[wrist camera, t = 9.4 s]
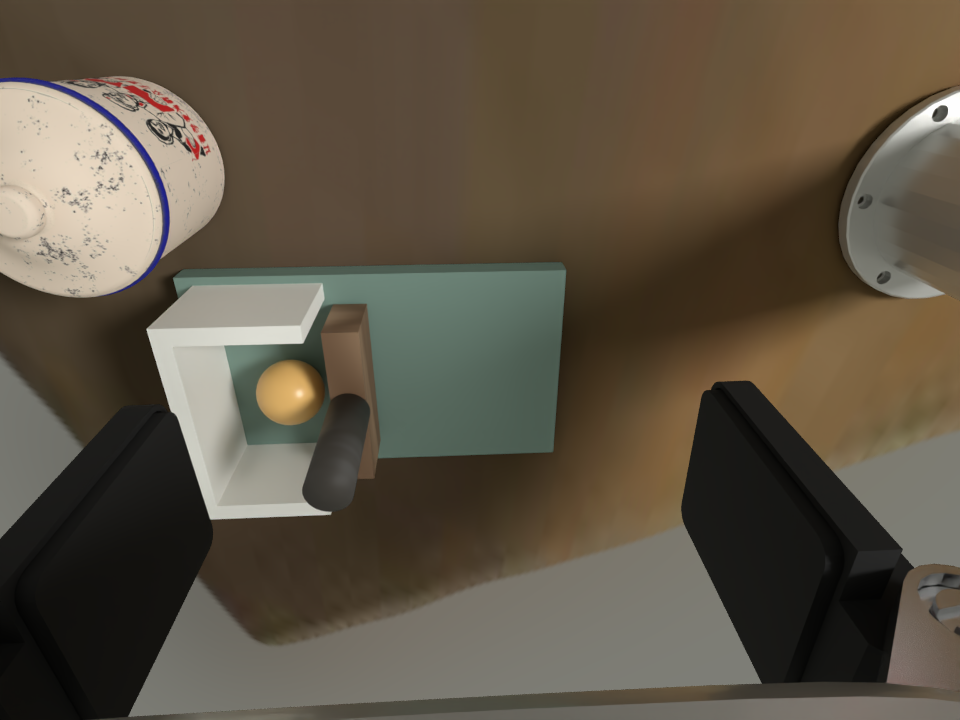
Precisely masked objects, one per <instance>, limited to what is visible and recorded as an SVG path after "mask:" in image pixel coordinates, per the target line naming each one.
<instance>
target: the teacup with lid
mask: <svg viewBox="0 0 960 720" xmlns="http://www.w3.org/2000/svg"><path fill="white" fill-rule="evenodd" d="M224 178H225V176H224V167H223V161H222V157H221V154H220V151H219V148H218V145H217V143H216V141H215V139H214V137H213V135H212V133H211V132H210V130H209V128H208V127H207V125H206V124H205V123H204V121H203V120H202V119H201V118H200V116H199V115H198V114H197V113H196V112H195V111H194V110H193V109H192V108H191V107H190V106H189V105H188V104H187V103H186V102H185V101H183V100H182V99H181V98H179V97H178V96H177V95H175V94H174V93H172V92H170V91H169V90H167V89H165V88H163V87H161V86H159V85H157V84H154V83H152V82H149V81H146V80H142V79H138V78H133V77H124V76H114V77H102V78H89V79H77V80H65V81H52V82H48V81H43V80H38V79H31V78H3V79H0V272H1V273H3V274H4V275H6V276H8V277H10V278H11V279H13V280H15V281H17V282H19V283H21V284H24V285H26V286H28V287H31V288H34V289H37V290H40V291H43V292H46V293H50V294H55V295H60V296H66V297H97V296H105V295H110V294H114V293H117V292H120V291H123V290H125V289H128V288H130V287H131V286H133V285H135V284H137V283H138V282H139V281H141V280H142V279H144V278H145V277H146V276H147V275H148V274H149V273H150V272H151V271H152V270H153V268H154V267H155V266H156V265H157V263H158V261H159V260H160V259H161V258H162V257H164V256H165V255H166V254H168V253H169V252H170V251H172V250H173V249H174V248H176V247H177V246H178V245H180V244H181V243H183V242H184V241H185V240H187V239H188V238H189V237H191V236H192V235H193V234H195V233H196V232H197V231H199V230H200V229H202V228H203V227H204V226H205V225H206V224H207V223H208V222H209V221H210V220H211V219H212V217H213V216H214V214H215V213H216V211H217V209H218V207H219V205H220V202H221V199H222V196H223V191H224Z"/></svg>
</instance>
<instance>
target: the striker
mask: <svg viewBox="0 0 960 720" xmlns="http://www.w3.org/2000/svg"><path fill="white" fill-rule="evenodd" d="M321 339H322V346H323V353H324V360H325V367H326V374H327V381H328V388H329V395H330V404H329V407H328V410H327V413H326V416H325V419H324V422H323V425H322V428H321V431H320V434H319V438H318V441H317V444H316V447H315V450H314V453H313V456H312V459H311V462H310V465H309V468H308V472H307V475H306V478H305V481H304V484H303V487H302V494H303V497H304V499H305V500H306V502H307V503H308V504H309V505H310V506H312V507H314V508H315V509H318V510H321V511H326V512H334V511H339V510H342V509H344V508H346V507H347V506H348V505H349V504H350V503H351V502H352V500H353V497H354V492H355V487H356V483H357V479H373V478H375V472H376V465H377V459H378V453H379V447H380V441H381V439H380V429H379V419H378V409H377V399H376V389H375V380H374V370H373V360H372V350H371V340H370V330H369V320H368V310H367V304H333V306H332V308H331V310H330V313H329V315H328V317H327V320H326V322H325V324H324V327H323V329H322V331H321Z"/></svg>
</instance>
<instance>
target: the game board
mask: <svg viewBox="0 0 960 720" xmlns="http://www.w3.org/2000/svg"><path fill="white" fill-rule="evenodd" d="M173 280H174V284H175V288H176V291H177V295H178V300H177V301H176V302H175V303H174V304H173V305H172V306H170V307H169V308H168V309H167V310H166V311H165V312H164V313H163V314H162V315H161V316H160V317H159V318H158V319H157V320H156V321H154V322H153V323H152V324H151V325H150V326H149V327H148V328H147V329H146V330H147V333H148V337H149V340H150V343H151V347H152V350H153V353H154V357H155V360H156V363H157V367H158V370H159V373H160V377H161V380H162V383H163V387H164V390H165V393H166V397H167V400H168V403H169V407H170V410H171V412H172V413H174V414H175V415H176V416H177V418H178V421H179V424H180V427H181V430H182V433H183V436H184V439H185V442H186V445H187V449H188V452H189V455H190V458H191V461H192V464H193V467H194V470H195V474H196V477H197V480H198V483H199V486H200V489H201V492H202V495H203V499H204V502H205V505H206V508H207V511H208V514H209V517H210V519H234V518H260V517H285V516H311V515H331V512H326V511H321V510H318V509H315V508H314V507H312V506H310V505H309V504H308V503H307V502H306V500H305V499H304V497H303V494H302V487H303V484H304V481H305V478H306V475H307V472H308V468H309V465H310V462H311V459H312V456H313V453H314V450H315V447H316V444H317V441H318V438H319V434H320V431H321V428H322V425H323V422H324V419H325V416H326V413H327V410H328V407H329V404H330V395H329V388H328V381H327V374H326V367H325V360H324V353H323V346H322V339H321V331H322V329H323V327H324V324H325V322H326V320H327V317H328V315H329V313H330V310H331V308H332V306H333V304H367V310H368V320H369V330H370V340H371V350H372V360H373V370H374V380H375V389H376V399H377V409H378V419H379V429H380V439H381V441H380V447H379V453H378V458H400V457H429V456H457V455H486V454H515V453H544V452H553V447H554V433H555V419H556V405H557V392H558V378H559V364H560V350H561V336H562V322H563V308H564V295H565V281H566V269H565V267H564V265H563V263H562V262H542V263H490V264H437V265H384V266H331V267H279V268H226V269H183V270H182V271H181V272H179V273H178V274H177V275H176V276H175V277H173ZM283 360H299V361H303V362H305V363H307V364H309V365H311V366H312V367H313V368H315V369H316V370H317V371H318V373H319V374H320V376H321V377H322V379H323V382H324V386H325V398H324V402H323V404H322V406H321V408H320V410H319V411H318V413H317V414H316V415H315V416H314V417H312V418H311V419H310V420H308V421H306V422H304V423H301V424H297V425H282V424H279V423H276V422H274V421H272V420H270V419H269V418H268V417H267V416H266V415H264V413H263V412H262V411H261V409H260V407H259V405H258V403H257V398H256V388H257V384H258V381H259V379H260V377H261V375H262V374H263V372H264V371H265V370H266V369H267V368H268V367H270V366H271V365H273V364H275V363H277V362H279V361H283Z"/></svg>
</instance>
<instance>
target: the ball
mask: <svg viewBox="0 0 960 720" xmlns="http://www.w3.org/2000/svg"><path fill="white" fill-rule="evenodd" d="M256 398H257V403H258V405H259V407H260V409H261V411H262V412H263V413H264V415H266V416H267V417H268V418H269V419H270V420H272V421H274V422H276V423H279V424H282V425H297V424H301V423H304V422H306V421H308V420H310V419H311V418H312V417H314V416H315V415H316V414H317V413H318V411H319V410H320V408H321V406H322V404H323V402H324V398H325V386H324V382H323V379H322V377H321V376H320V374H319V373H318V371H317V370H316V369H315V368H313V367H312V366H311V365H309V364H307V363H305V362H303V361H299V360H283V361H279V362H277V363H275V364H273V365H271V366H270V367H268V368H267V369H266V370H265V371H264V372H263V374H262V375H261V377H260V379H259V381H258V384H257V388H256Z"/></svg>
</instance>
